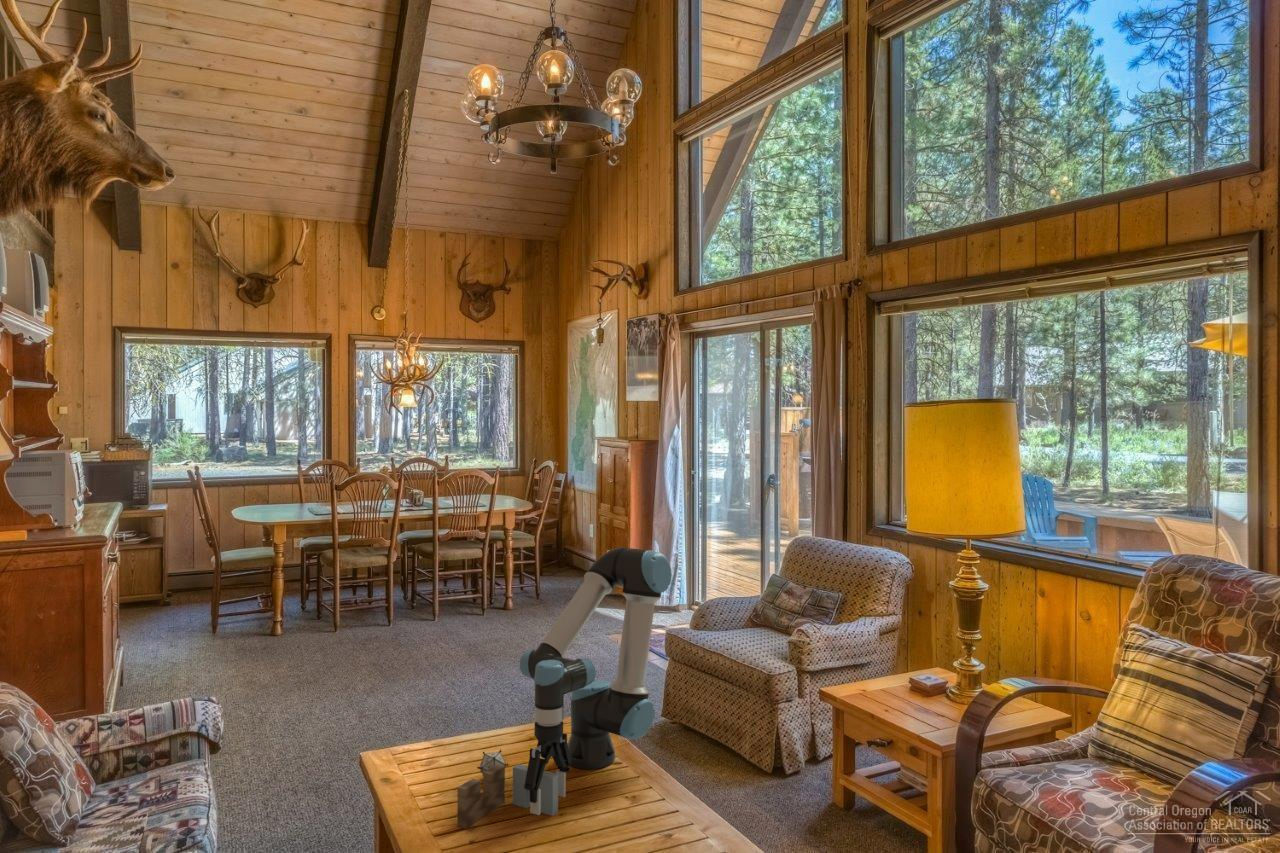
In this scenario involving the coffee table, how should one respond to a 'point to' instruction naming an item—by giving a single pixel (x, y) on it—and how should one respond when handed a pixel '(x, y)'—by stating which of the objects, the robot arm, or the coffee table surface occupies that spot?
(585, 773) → the coffee table surface
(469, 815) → the base plank
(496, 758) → the game die
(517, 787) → the cross plank
